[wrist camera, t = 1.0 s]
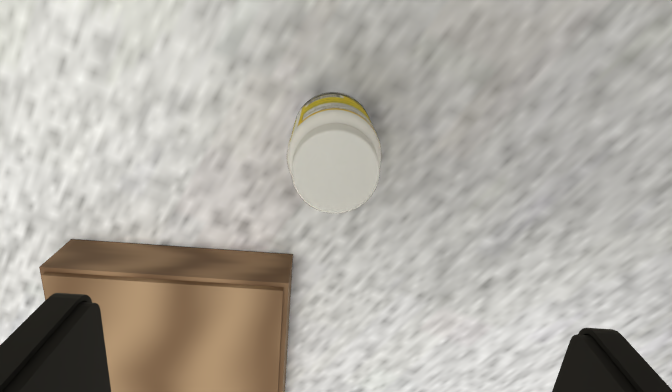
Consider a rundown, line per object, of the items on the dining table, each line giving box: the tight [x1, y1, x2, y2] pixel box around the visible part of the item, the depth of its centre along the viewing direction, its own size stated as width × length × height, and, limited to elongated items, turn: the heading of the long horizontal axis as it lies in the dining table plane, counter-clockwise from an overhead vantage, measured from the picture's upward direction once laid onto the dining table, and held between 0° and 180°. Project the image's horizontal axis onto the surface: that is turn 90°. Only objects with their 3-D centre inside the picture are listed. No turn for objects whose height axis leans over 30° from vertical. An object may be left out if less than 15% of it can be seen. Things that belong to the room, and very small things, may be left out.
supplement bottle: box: [287, 92, 381, 213], centre depth 24 cm, size 5×5×8 cm
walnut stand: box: [39, 239, 293, 392], centre depth 31 cm, size 15×13×4 cm
